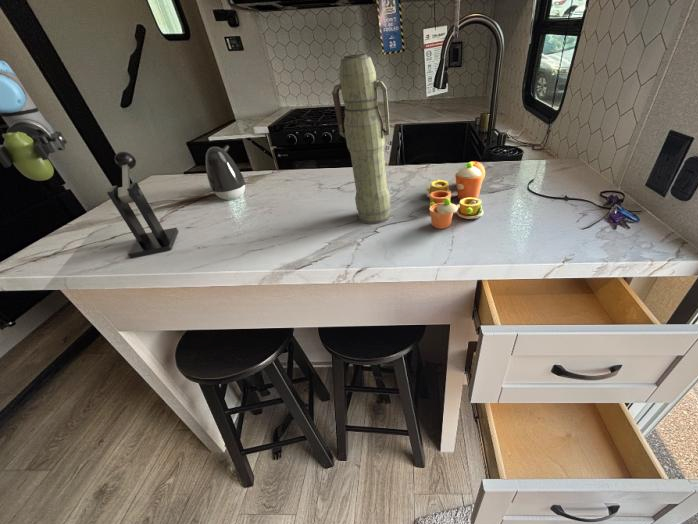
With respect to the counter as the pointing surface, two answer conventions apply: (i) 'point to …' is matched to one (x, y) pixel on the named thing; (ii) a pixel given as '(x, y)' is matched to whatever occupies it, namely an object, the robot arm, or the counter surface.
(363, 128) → the thermos
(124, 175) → the lever with ball knob
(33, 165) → the pear
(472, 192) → the toy tea set
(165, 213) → the counter surface
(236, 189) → the pump dispenser
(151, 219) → the dark grey slanted stand
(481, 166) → the clementine
